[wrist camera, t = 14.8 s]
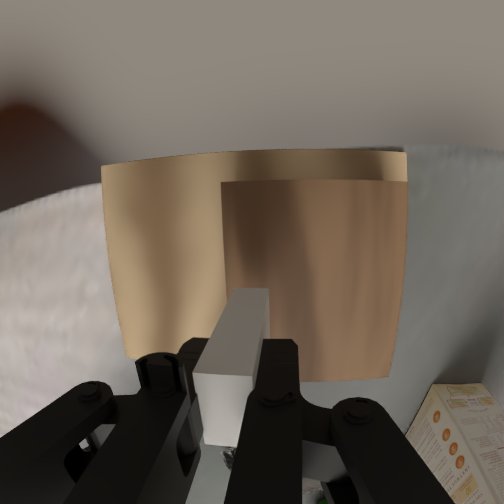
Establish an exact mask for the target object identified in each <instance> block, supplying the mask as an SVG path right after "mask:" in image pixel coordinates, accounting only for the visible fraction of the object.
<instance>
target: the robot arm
mask: <svg viewBox="0 0 504 504" xmlns="http://www.w3.org/2000/svg"><path fill="white" fill-rule="evenodd" d="M135 365H136V369H137V373H138V377H139V381H140V385H141V388H140V390H139V391H138V393H137V394H134V395H113V392H112V390H111V387H110V386H109V385H107V384H106V383H104V382H100V381H88V382H85V383H81V384H79V385H77V386H75V387H74V388H72V389H71V390H69V391H68V392H67V393H65V394H64V395H62V396H61V397H59V398H58V399H56V400H55V401H54V402H52V403H51V404H49V405H48V406H46V407H45V408H43V409H42V410H40V411H39V412H38V413H36V414H35V415H33V416H32V417H30V418H29V419H27V420H26V421H24V422H23V423H21V424H20V425H19V426H17V427H16V428H14V429H13V430H11V431H10V432H8V433H7V434H5V435H4V436H2V437H1V438H0V504H185V502H186V499H187V496H188V493H189V490H190V487H191V484H192V481H193V478H194V475H195V472H196V469H197V466H198V463H199V460H200V457H201V450H200V445H199V442H200V439H201V437H202V434H203V436H204V441H205V444H210V445H219V446H230V447H237V448H236V452H235V457H234V461H233V466H232V470H231V474H230V479H229V483H228V488H227V492H226V496H225V500H224V504H302V477H305V478H309V479H313V480H318V481H320V484H321V487H322V489H323V492H324V494H325V497H326V499H327V502H328V504H455V503H454V501H453V500H452V499H451V497H450V496H449V494H448V493H447V492H446V490H445V489H444V488H443V486H442V485H441V484H440V482H439V481H438V480H437V478H436V477H435V476H434V474H433V473H432V472H431V470H430V469H429V468H428V466H427V465H426V463H425V462H424V461H423V459H422V458H421V457H420V455H419V454H418V453H417V451H416V450H415V449H414V447H413V446H412V445H411V443H410V442H409V441H408V439H407V438H406V437H405V435H404V434H403V433H402V431H401V430H400V429H399V427H398V426H397V425H396V423H395V422H394V421H393V420H392V418H391V417H390V416H389V414H388V413H387V412H386V410H385V409H384V408H383V407H382V406H381V405H380V404H379V403H378V402H376V401H373V400H371V399H368V398H361V397H355V398H348V399H345V400H342V401H339V402H338V403H337V404H336V405H335V406H333V408H332V409H329V408H323V407H319V406H316V405H313V404H311V403H309V402H308V401H306V400H305V399H304V398H303V396H302V395H301V393H300V383H299V356H298V345H297V344H296V343H295V342H294V341H293V340H292V339H270V323H269V288H234V290H233V292H232V294H231V296H230V298H229V300H228V302H227V304H226V306H225V308H224V310H223V312H222V314H221V316H220V318H219V320H218V322H217V324H216V326H215V328H214V330H213V332H212V334H211V336H210V338H199V337H192V338H191V339H189V340H188V341H186V342H185V343H183V345H182V346H181V348H180V349H179V351H178V353H177V354H173V353H168V352H156V353H151V354H147V355H145V356H143V357H140V358H139V359H138V360H137V361H136V362H135ZM84 439H86V441H87V443H88V445H89V446H88V447H86V448H84V449H81V447H80V445H79V443H80V442H81V441H82V440H84Z"/></svg>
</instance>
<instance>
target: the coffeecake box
mask: <svg viewBox="0 0 504 504" xmlns="http://www.w3.org/2000/svg"><path fill="white" fill-rule="evenodd" d="M405 437H406V438H407V439H408V441H409V442H410V443H411V445H412V446H413V447H414V449H415V450H416V451H417V453H418V454H419V455H420V457H421V458H422V459H423V461H424V462H425V463H426V465H427V466H428V468H429V469H430V470H431V472H432V473H433V474H434V476H435V477H436V478H437V480H438V481H439V482H440V484H441V485H442V486H443V488H444V489H445V490H446V492H447V493H448V494H449V496H450V497H451V499H452V500H453V501H454V503H455V504H504V411H503V410H502V408H501V407H500V406H499V405H498V403H497V402H496V401H495V399H494V398H493V397H492V395H491V394H490V393H489V392H488V391H487V389H486V388H485V387H484V386H483V384H482V383H473V384H461V385H457V384H432V386H431V388H430V390H429V392H428V394H427V396H426V398H425V400H424V402H423V404H422V406H421V408H420V410H419V412H418V413H417V415H416V417H415V419H414V421H413V423H412V425H411V426H410V428H409V430H408V432H407V433H406V435H405Z"/></svg>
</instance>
